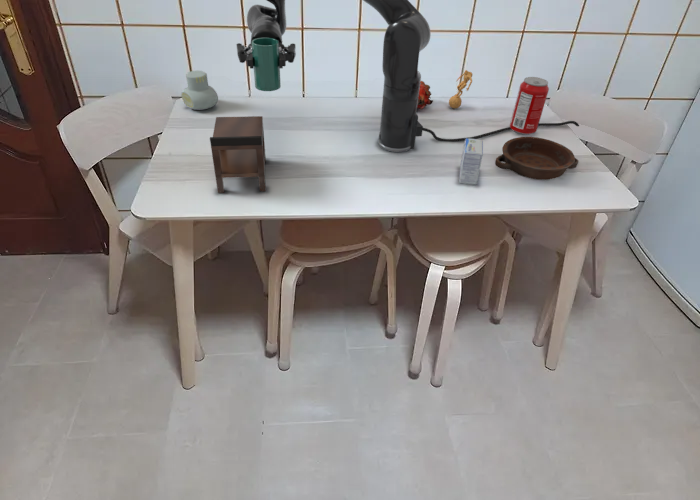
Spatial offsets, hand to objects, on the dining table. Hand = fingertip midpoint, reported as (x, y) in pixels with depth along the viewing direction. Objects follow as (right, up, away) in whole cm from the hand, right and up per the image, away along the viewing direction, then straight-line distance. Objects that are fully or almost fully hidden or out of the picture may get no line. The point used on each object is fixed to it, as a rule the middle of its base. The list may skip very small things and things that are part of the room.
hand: (266, 64), depth 110 cm
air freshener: (-27, +3, +43) cm, 51 cm away
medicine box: (+48, -23, +17) cm, 56 cm away
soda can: (+70, -6, +39) cm, 80 cm away
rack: (-8, -23, +13) cm, 27 cm away
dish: (+67, -20, +21) cm, 73 cm away
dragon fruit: (+40, +4, +49) cm, 63 cm away
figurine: (+53, +4, +50) cm, 73 cm away
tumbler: (-1, -3, +6) cm, 6 cm away
